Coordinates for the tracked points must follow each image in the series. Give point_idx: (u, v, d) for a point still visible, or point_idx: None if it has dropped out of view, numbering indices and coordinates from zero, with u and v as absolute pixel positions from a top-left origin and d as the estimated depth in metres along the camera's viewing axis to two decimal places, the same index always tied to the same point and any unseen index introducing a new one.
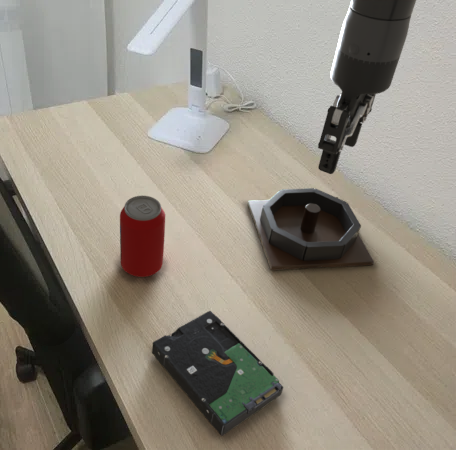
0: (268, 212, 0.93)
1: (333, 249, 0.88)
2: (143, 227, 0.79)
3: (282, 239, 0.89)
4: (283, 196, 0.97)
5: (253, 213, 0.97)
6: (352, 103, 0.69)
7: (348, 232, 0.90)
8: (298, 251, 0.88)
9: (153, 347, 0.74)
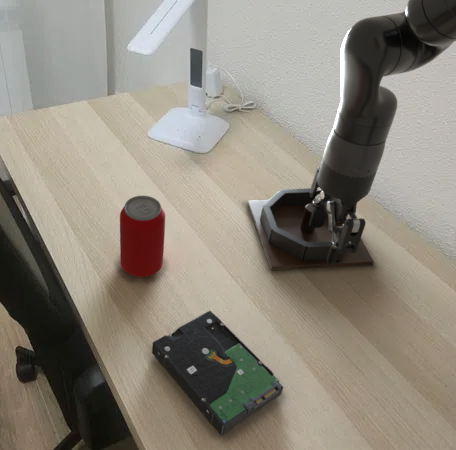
0: (268, 212, 0.93)
1: None
2: (143, 227, 0.79)
3: (282, 239, 0.89)
4: (283, 196, 0.97)
5: (253, 213, 0.97)
6: (355, 208, 0.78)
7: None
8: (298, 251, 0.88)
9: (153, 347, 0.74)
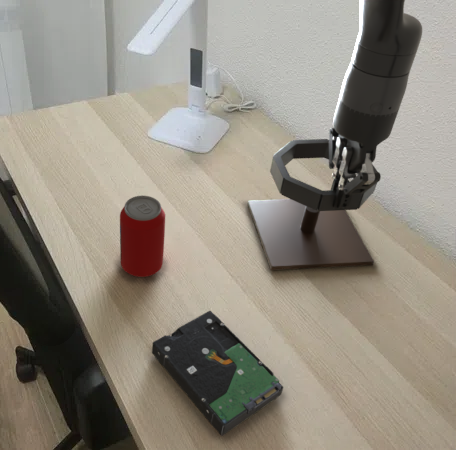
0: (279, 161, 0.86)
1: (351, 198, 0.81)
2: (143, 227, 0.79)
3: (295, 188, 0.82)
4: (295, 147, 0.91)
5: (253, 213, 0.97)
6: (374, 158, 0.72)
7: None
8: (312, 200, 0.81)
9: (153, 347, 0.74)
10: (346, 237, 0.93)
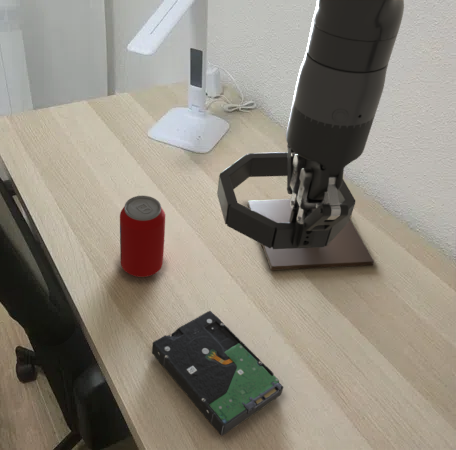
0: (226, 182, 0.67)
1: (315, 233, 0.61)
2: (143, 227, 0.79)
3: (243, 218, 0.63)
4: (250, 163, 0.71)
5: None
6: (340, 184, 0.52)
7: None
8: (265, 235, 0.62)
9: (153, 347, 0.74)
10: (346, 237, 0.93)
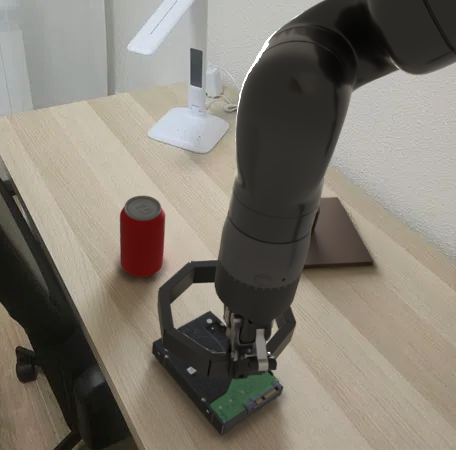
0: (164, 300, 0.64)
1: None
2: (143, 227, 0.79)
3: (178, 345, 0.60)
4: (192, 272, 0.69)
5: None
6: (269, 337, 0.50)
7: (276, 334, 0.61)
8: (200, 365, 0.60)
9: (153, 347, 0.74)
10: (346, 237, 0.93)
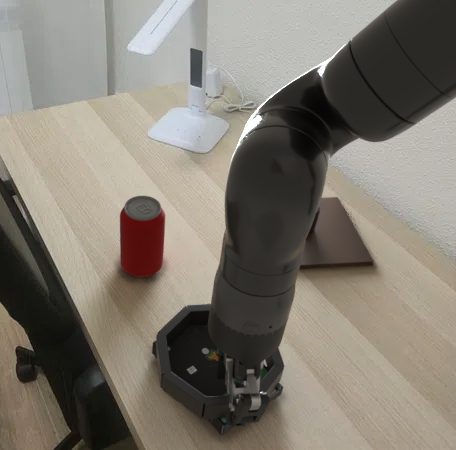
0: (162, 344, 0.69)
1: None
2: (143, 227, 0.79)
3: (175, 389, 0.65)
4: (188, 316, 0.74)
5: None
6: (259, 373, 0.54)
7: (265, 378, 0.66)
8: (195, 407, 0.65)
9: (153, 347, 0.74)
10: (346, 237, 0.93)
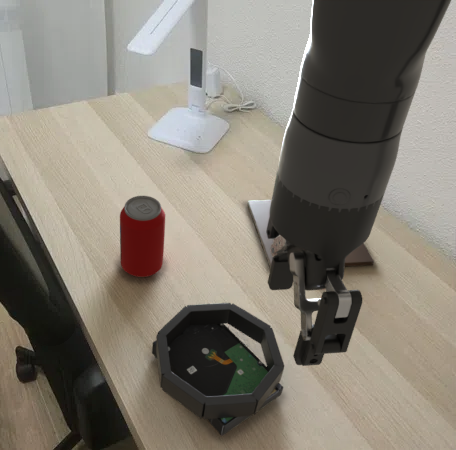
0: (162, 344, 0.69)
1: (242, 406, 0.64)
2: (143, 227, 0.79)
3: (175, 389, 0.65)
4: (188, 316, 0.74)
5: (253, 213, 0.97)
6: (342, 268, 0.40)
7: (265, 378, 0.66)
8: (195, 407, 0.65)
9: (153, 347, 0.74)
10: None
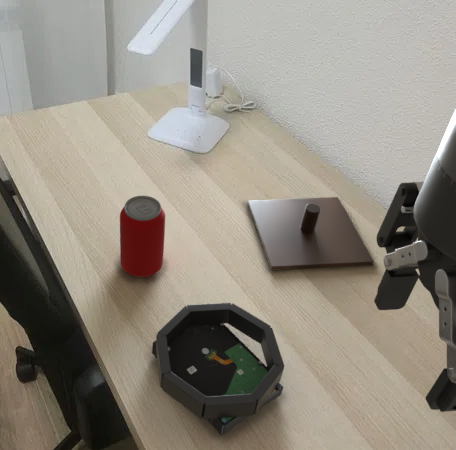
0: (162, 344, 0.69)
1: (242, 406, 0.64)
2: (143, 227, 0.79)
3: (175, 389, 0.65)
4: (188, 316, 0.74)
5: (253, 213, 0.97)
6: None
7: (265, 378, 0.66)
8: (195, 407, 0.65)
9: (153, 347, 0.74)
10: (346, 237, 0.93)
